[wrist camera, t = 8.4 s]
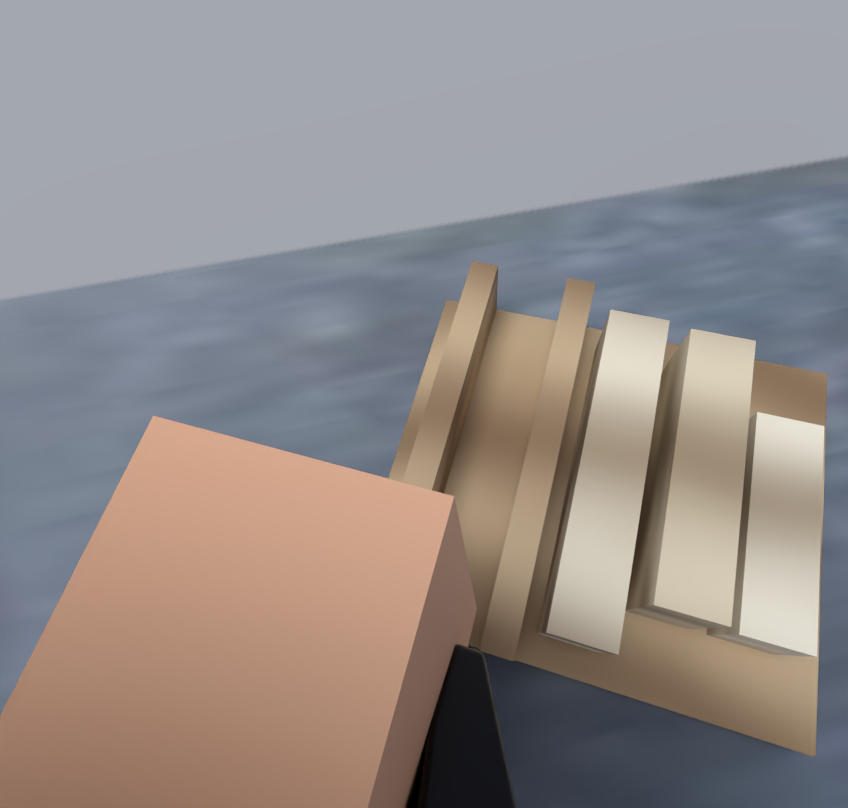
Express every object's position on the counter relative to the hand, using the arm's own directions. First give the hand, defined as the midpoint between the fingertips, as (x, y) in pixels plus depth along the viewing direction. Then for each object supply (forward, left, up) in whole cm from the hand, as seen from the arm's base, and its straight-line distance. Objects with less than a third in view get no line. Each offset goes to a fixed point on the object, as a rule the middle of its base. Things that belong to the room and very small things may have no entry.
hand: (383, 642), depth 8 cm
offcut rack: (+1, -8, -13) cm, 15 cm away
